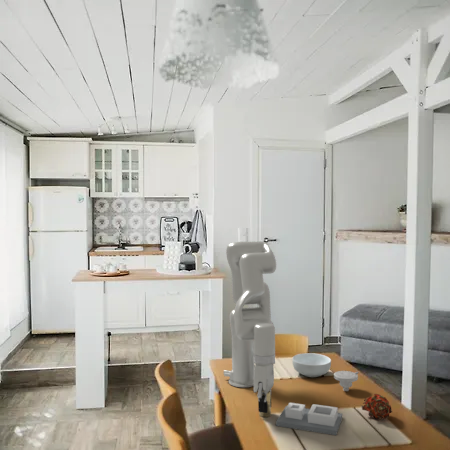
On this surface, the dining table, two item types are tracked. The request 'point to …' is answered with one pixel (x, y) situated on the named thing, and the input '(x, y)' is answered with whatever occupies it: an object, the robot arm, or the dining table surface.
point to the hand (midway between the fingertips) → (265, 409)
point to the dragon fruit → (377, 406)
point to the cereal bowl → (311, 364)
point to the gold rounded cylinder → (268, 406)
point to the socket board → (311, 418)
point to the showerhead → (346, 378)
